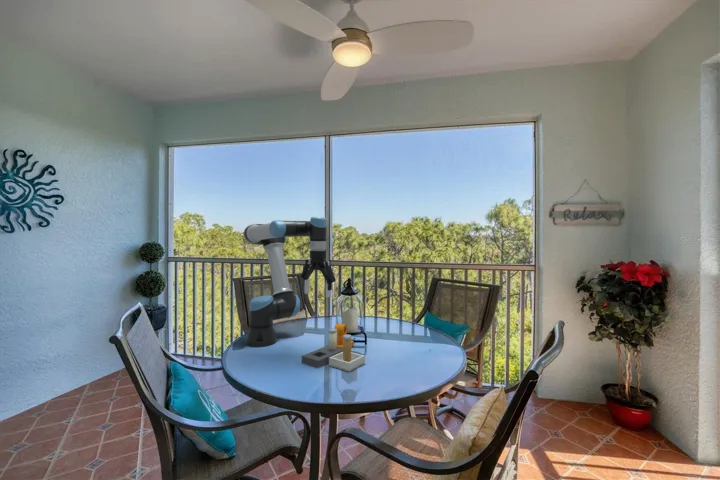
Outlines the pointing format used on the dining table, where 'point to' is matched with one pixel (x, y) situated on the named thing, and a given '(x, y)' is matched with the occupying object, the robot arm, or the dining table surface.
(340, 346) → the bracket
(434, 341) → the dining table surface
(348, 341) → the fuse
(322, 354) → the fuse block
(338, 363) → the parts tray
